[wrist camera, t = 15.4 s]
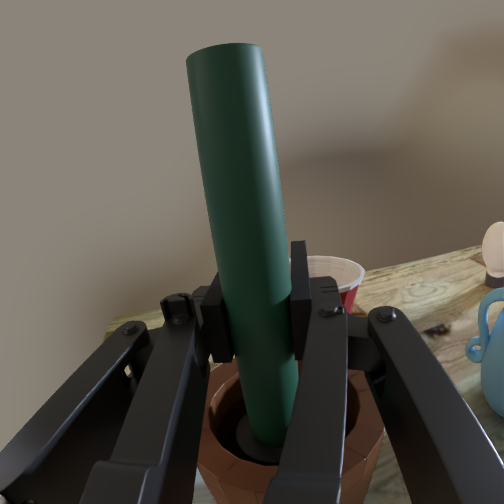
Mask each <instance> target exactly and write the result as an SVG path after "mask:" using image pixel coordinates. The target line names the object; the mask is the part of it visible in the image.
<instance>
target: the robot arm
mask: <svg viewBox="0 0 504 504" xmlns="http://www.w3.org/2000/svg"><path fill="white" fill-rule="evenodd" d="M160 305H161V308H162V312H163V315H164V319H165V322H164V324H163V327H161V328H156V329H151V330H147V327H146V324H145V323H144V322H142V321H131V322H130V321H129V322H126V323H125V324H123V325H121V326H120V327H119V328H117V329H116V330H115V331H114V332H113V333H112V334H111V335H110V336H109V337H108V338H107V339H106V340H105V341H104V342H103V344H102V345H101V346H100V347H99V348H98V349H97V350H96V351H95V352H94V353H93V354H92V355H91V356H90V357H89V358H88V359H87V360H86V361H85V362H84V363H83V364H82V365H81V366H80V367H79V368H78V369H77V370H76V371H75V372H74V373H73V374H72V375H71V376H70V377H69V378H68V380H66V382H65V383H64V384H63V385H62V386H61V387H60V388H59V389H58V390H57V391H56V392H55V393H54V394H53V395H52V396H51V397H50V398H49V399H48V401H47V402H46V403H45V404H44V405H43V406H42V407H41V408H40V409H39V410H38V411H37V412H36V413H35V415H34V416H33V417H32V418H31V419H30V420H29V421H28V422H27V423H26V424H25V425H24V427H23V428H22V429H21V430H20V431H19V432H18V433H17V434H16V436H15V437H14V438H13V439H12V440H11V441H10V442H9V443H8V444H7V446H6V447H5V448H4V449H3V450H2V451H1V452H0V504H192V500H193V492H194V484H195V477H196V469H197V461H198V454H199V447H200V439H201V432H202V425H203V418H204V411H205V404H206V397H207V390H208V383H209V377H210V370H211V369H210V364H209V360H208V359H209V356H210V354H211V355H212V358H213V362H214V363H232V360H233V356H234V350H233V345H232V340H231V335H230V330H229V325H228V320H227V315H226V310H225V304H224V299H223V294H222V289H221V283H220V278H219V273H218V272H217V274H216V276H215V278H214V280H213V282H212V283H211V285H210V286H200V287H199V288H197V289H196V290H195V291H193V293H192V295H190V294H187V293H177V294H173V295H170V296H167V297H165V298H164V299H162V300H161V302H160ZM290 308H291V319H292V331H293V343H294V355H295V361H297V360H302V365H301V370H300V375H299V380H298V385H297V389H296V394H295V399H294V403H293V408H292V412H291V417H290V421H289V426H288V430H287V434H286V438H285V443H284V447H283V451H282V455H281V459H280V463H279V467H278V470H277V473H276V475H275V476H274V477H272V478H271V479H270V481H269V484H268V487H267V490H266V493H265V496H264V500H263V503H262V504H339V499H340V490H341V474H342V463H343V451H344V438H345V422H346V401H347V369H351V370H359V371H364V376H365V378H366V380H367V383H368V385H369V388H370V390H371V393H372V395H373V398H374V400H375V403H376V405H377V408H378V411H379V413H380V416H381V418H382V421H383V424H384V426H385V429H386V431H387V434H388V437H389V439H390V442H391V445H392V448H393V450H394V453H395V456H396V459H397V461H398V464H399V467H400V470H401V473H402V476H403V478H404V481H405V484H406V487H407V490H408V493H409V496H410V499H411V502H412V504H504V464H503V462H502V460H501V458H500V457H499V455H498V453H497V451H496V450H495V448H494V446H493V444H492V443H491V441H490V439H489V438H488V436H487V434H486V433H485V431H484V429H483V428H482V426H481V424H480V423H479V421H478V420H477V418H476V416H475V415H474V413H473V412H472V410H471V409H470V407H469V405H468V404H467V402H466V401H465V399H464V398H463V396H462V395H461V393H460V392H459V390H458V389H457V387H456V386H455V384H454V383H453V381H452V380H451V378H450V377H449V375H448V374H447V372H446V371H445V370H444V368H443V367H442V365H441V364H440V362H439V361H438V360H437V358H436V357H435V355H434V354H433V352H432V351H431V350H430V348H429V347H428V346H427V344H426V343H425V341H424V340H423V339H422V337H421V336H420V335H419V333H418V332H417V331H416V329H415V328H414V326H413V325H412V324H411V322H410V321H409V320H408V319H407V317H406V316H405V315H404V313H403V312H402V311H401V310H399V309H397V308H394V307H391V306H382V307H377V308H374V309H373V310H371V311H370V312H369V314H368V317H359V316H354V315H351V314H349V313H347V309H346V307H345V306H343V304H342V300H341V297H340V293H339V289H338V286H337V282H336V280H335V279H334V278H332V277H331V276H324V277H312V278H309V270H308V261H307V252H306V244H305V241H293V242H291V292H290ZM127 365H128V366H129V369H130V371H131V373H130V374H129V375H128V376H127V375H126V373H125V371H124V369H125V367H126V366H127Z"/></svg>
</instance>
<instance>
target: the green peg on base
mask: <svg viewBox="0 0 504 504" xmlns="http://www.w3.org/2000/svg"><path fill="white" fill-rule="evenodd" d="M186 65H187V74H188V82H189V90H190V97H191V104H192V112H193V119H194V126H195V133H196V140H197V147H198V153H199V160H200V167H201V172H202V179H203V186H204V191H205V198H206V204H207V210H208V216H209V222H210V228H211V233H212V239H213V245H214V251H215V256H216V261H217V267H218V273H219V278H220V283H221V289H222V294H223V299H224V304H225V310H226V315H227V320H228V325H229V330H230V335H231V340H232V345H233V350H234V354H235V359H236V364H237V369H238V373H239V378H240V383H241V387H242V392H243V396H244V401H245V405H246V410H247V413H246V414H245V415H244V416H243V417H242V418H241V420H240V421H239V423H238V425H237V427H236V432H235V438H236V442H237V446H238V449H239V452H240V455H241V459H242V460H245V461H248V462H252V463H255V464H259V465H263V466H279V463H280V459H281V455H282V451H283V447H284V443H285V438H286V434H287V430H288V426H289V421H290V417H291V412H292V408H293V403H294V399H295V394H296V389H297V385H298V380H299V378H298V363H297V361H295V355H294V343H293V331H292V319H291V308H290V292H291V277H290V266H289V256H288V246H287V236H286V226H285V218H284V208H283V199H282V191H281V182H280V174H279V165H278V157H277V149H276V141H275V134H274V126H273V119H272V111H271V104H270V97H269V90H268V83H267V77H266V70H265V63H264V56H263V50H262V49H261V48H260V47H259V46H257V45H253V44H246V43H229V44H221V45H215V46H211V47H207V48H204V49H201V50H198V51H196V52H194V53H192V54H191V55H189V56H188V58H187V59H186Z"/></svg>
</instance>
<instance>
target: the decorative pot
mask: <svg viewBox="0 0 504 504" xmlns="http://www.w3.org/2000/svg"><path fill="white" fill-rule="evenodd" d="M496 301H504V287H503V288H497V289H494V290H492V291H490V292H489V293H487V294H486V295H485V296H484V298H483V299H482V301H481V303H480V306H479V311H478V325H479V334H480V337H473V338H471V339H470V340H469V341H468V343H467V345H466V349H465V352H466V356H467V358H468V359H469V360H470V361H472V362H474V363H480V362H482V364H481V385H482V389H483V393H484V396H485V398H486V401H487V403H488V405H489V406H490V407H491V409H493V410H494V411H495V412H496V413H497V414H499V415H500V416H502V417H503V418H504V308H503V310H502V312H501V313H500V315H499V317H498V319H497V321H496V323H495V325H494V327H493V329H492V332H491V334H490V337H489V329H488V308H489V306H490V304H491V303H493V302H496ZM474 345H479V346H481V350H476V349H475V348H474V347H473V346H474Z"/></svg>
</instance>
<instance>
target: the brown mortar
mask: <svg viewBox="0 0 504 504" xmlns="http://www.w3.org/2000/svg"><path fill="white" fill-rule="evenodd" d="M297 363H298V378H299V375H300V370H301V365H302V360H297ZM246 413H247V410H246V405H245V401H244V396H243V392H242V387H241V383H240V378H239V373H238V369H237V364H236V359H235V358H234V359H233V360H232V363H223V364H221V365H220V366H219V367H217V368H216V369H214V370H213V371H211V372H210V377H209V383H208V390H207V397H206V404H205V411H204V418H203V425H202V432H201V439H200V447H199V454H198V461H197V468H198V470H199V472H200V474H201V476H202V478H203V480H204V481H205V483H206V485H207V487H208V489H209V490H210V492H211V494H212V496H213V497H214V499H215V501H216V503H217V504H262V503H263V500H264V496H265V493H266V490H267V487H268V484H269V481H270V479H271V478H272V477H274V476H275V475H276V473H277V470H278V467H279V466H263V465H259V464H255V463H252V462H248V461H245V460H242V459H241V455H240V452H239V449H238V446H237V442H236V438H235V432H236V427H237V425H238V423H239V421H240V420H241V418H242V417H243V416H244V415H245V414H246ZM384 432H385V426H384V424H383V421H382V418H381V416H380V413H379V411H378V408H377V405H376V403H375V400H374V398H373V395H372V393H371V390H370V388H369V385H368V383H367V380H366V378H365V376H364V371H359V370H351V369H347V401H346V422H345V438H344V451H343V463H342V474H341V490H340V499H339V504H363V501H364V498H365V495H366V493H367V490H368V487H369V484H370V481H371V478H372V474H373V471H374V468H375V465H376V461H377V458H378V454H379V451H380V447H381V444H382V440H383V436H384Z"/></svg>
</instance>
